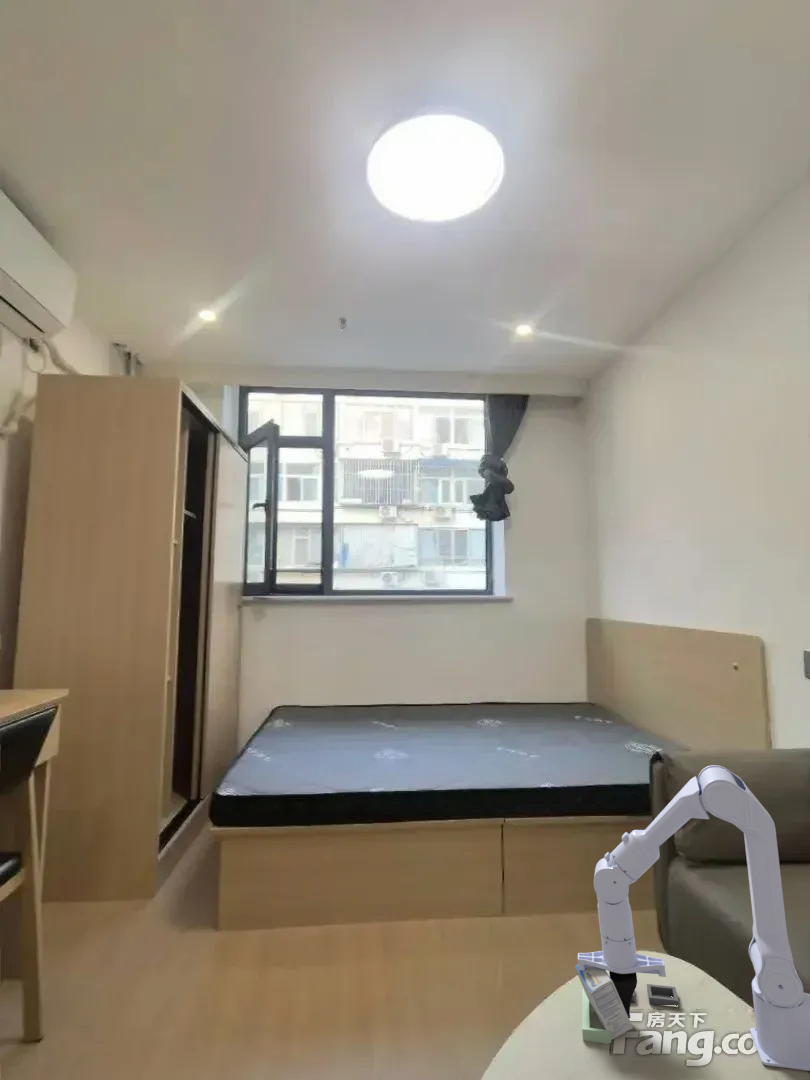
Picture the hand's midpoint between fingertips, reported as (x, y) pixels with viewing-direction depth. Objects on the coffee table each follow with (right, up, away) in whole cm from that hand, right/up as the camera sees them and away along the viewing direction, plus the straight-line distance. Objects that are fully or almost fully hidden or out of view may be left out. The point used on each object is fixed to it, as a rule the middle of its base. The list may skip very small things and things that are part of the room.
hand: (626, 1014), depth 108 cm
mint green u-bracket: (-5, -2, +1) cm, 5 cm away
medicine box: (-2, -1, 0) cm, 3 cm away
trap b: (+2, -2, +8) cm, 8 cm away
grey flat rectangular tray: (+9, -1, +6) cm, 10 cm away
